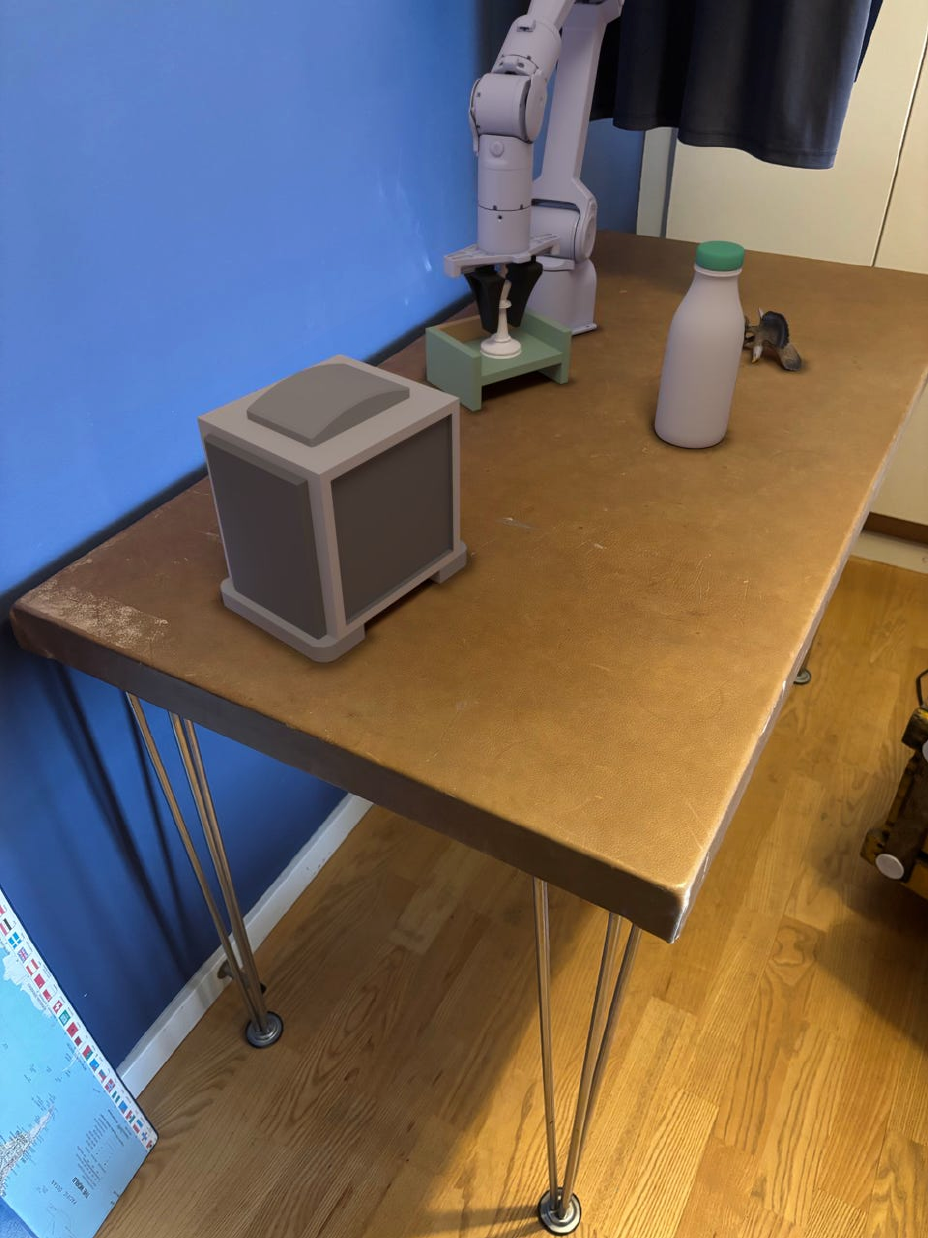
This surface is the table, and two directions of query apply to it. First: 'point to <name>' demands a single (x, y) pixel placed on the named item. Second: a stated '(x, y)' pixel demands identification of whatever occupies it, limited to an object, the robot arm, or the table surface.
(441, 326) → the shelf
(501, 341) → the chess piece
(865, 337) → the table surface
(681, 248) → the table surface
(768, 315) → the brown toy animal
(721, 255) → the milk bottle
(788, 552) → the table surface
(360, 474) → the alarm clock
